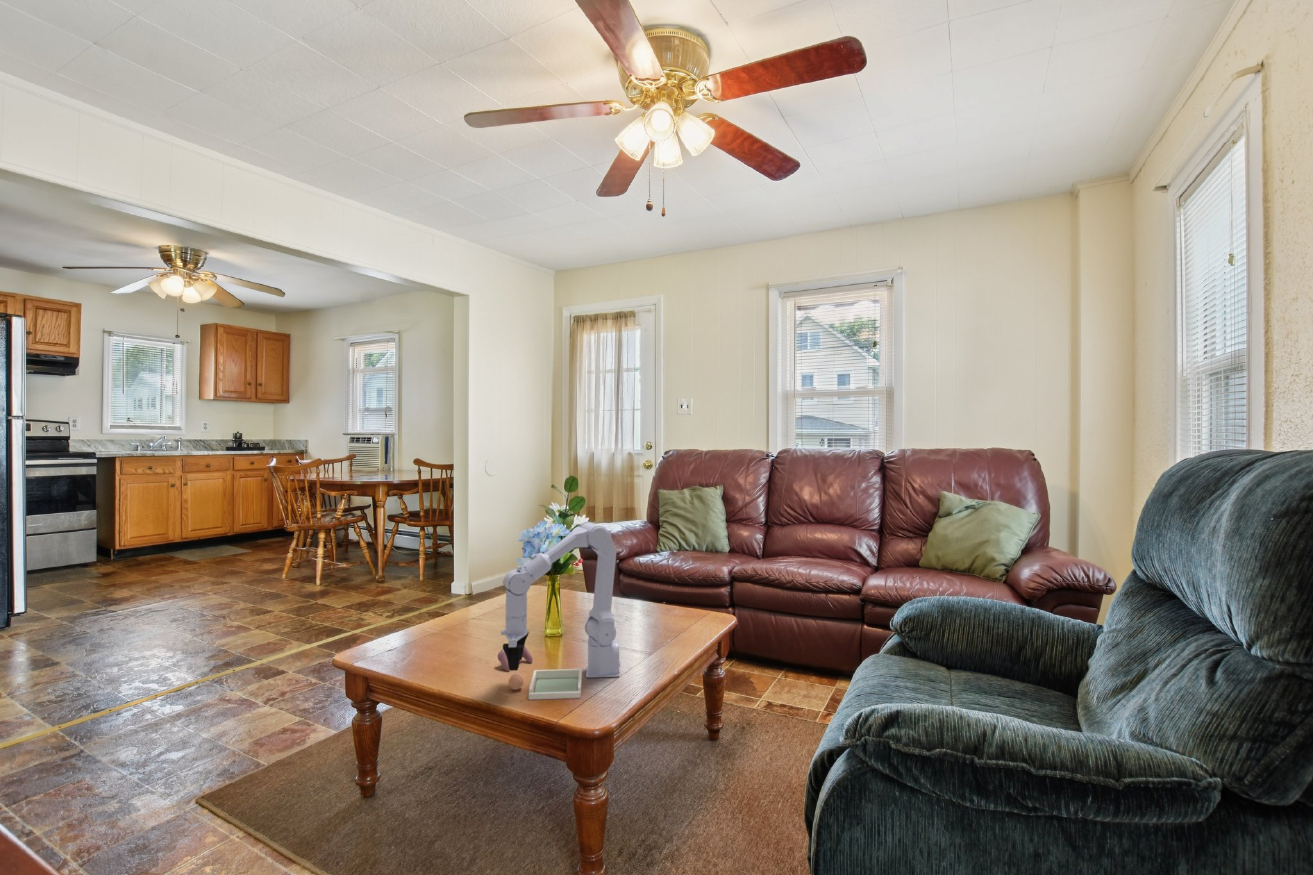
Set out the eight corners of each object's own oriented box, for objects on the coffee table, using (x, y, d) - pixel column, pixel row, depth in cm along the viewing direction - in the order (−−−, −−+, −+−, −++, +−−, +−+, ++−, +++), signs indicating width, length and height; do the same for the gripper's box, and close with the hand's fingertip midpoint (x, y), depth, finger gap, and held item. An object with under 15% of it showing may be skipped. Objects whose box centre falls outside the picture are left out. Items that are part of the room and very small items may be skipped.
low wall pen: (581, 677, 175) (582, 668, 175) (580, 697, 162) (580, 688, 161) (534, 678, 174) (534, 670, 174) (528, 699, 160) (528, 690, 160)
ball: (524, 686, 169) (524, 671, 169) (522, 692, 165) (522, 677, 165) (509, 686, 168) (509, 672, 168) (507, 692, 164) (507, 677, 164)
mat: (577, 679, 174) (577, 677, 174) (576, 696, 162) (576, 695, 162) (537, 680, 173) (537, 679, 173) (533, 697, 161) (533, 696, 161)
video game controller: (526, 665, 188) (519, 642, 190) (534, 661, 186) (528, 638, 188) (499, 674, 181) (493, 651, 183) (508, 671, 178) (501, 647, 180)
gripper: (505, 607, 173) (504, 655, 173) (497, 623, 159) (496, 675, 159) (530, 607, 174) (530, 654, 174) (524, 623, 159) (523, 674, 160)
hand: (515, 664), depth 166 cm, fingers open, 7 cm apart
